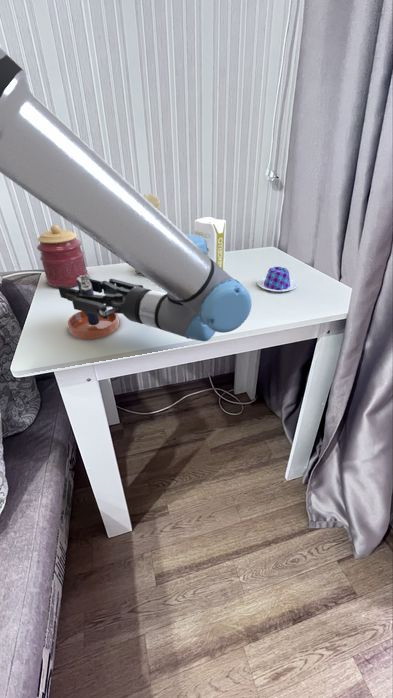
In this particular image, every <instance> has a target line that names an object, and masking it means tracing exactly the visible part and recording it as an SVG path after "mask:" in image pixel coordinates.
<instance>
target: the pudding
mask: <svg viewBox="0 0 393 698" xmlns="http://www.w3.org/2000/svg"><path fill="white" fill-rule="evenodd" d="M256 283H257V285H258V287H260V288H262V289H263V290H267V291H271V292H288V291H292V290H294V289H296V288H297V286H298V284H297V283H296V281H295V280H293V279H291V278H290V272H289V270H288V269H287V268H286V267H283V266H272V267H270V268H269V269H268V271H267V274H266V275H265V276H264V277H261V278H259V279H257V281H256Z"/></svg>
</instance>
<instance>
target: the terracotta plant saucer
mask: <svg viewBox="0 0 393 698" xmlns="http://www.w3.org/2000/svg"><path fill="white" fill-rule="evenodd" d="M98 317H99V323H98V324H97V325H93V326H92V325H90V324H89V323H88V318H86V315H85V314H84V311H80V310H79V311H78V312H76V313H75V314H73V315H71V316H70V317H69V318H68V321H67V326H68V330H69V332H70V335H72V336H73V337H75V338H77V339H79V340H80V339H82V340H96V339H99V338H100V339H101V338H105V337H106V336H109V335H111V334H112V333H114V332H115V331H116V330H117V329H118V328H119V326H120V320H119V319H120V318H119V314H117V313H114V312H113V313H110V314H108V318H107V319H103V318H102V317H100V316H98Z"/></svg>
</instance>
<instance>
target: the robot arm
mask: <svg viewBox="0 0 393 698" xmlns="http://www.w3.org/2000/svg"><path fill="white" fill-rule="evenodd" d="M0 173H1V174H2V175H3V176H4V177H6V178H8V179H9V180H10V181H11V182H13V183H14V184H16V185H17V186H19V187H20V188H21V189H22V190H24V191H25V192H27V193H29V194H30V195H31V196H33V197H34V198H35V199H36V200H38V201H39V202H41V203H42V204H44V205H45V206H47V207H48V208H49V209H51V210H52V211H53V212H55V213H56V214H58V215H59V216H60V217H62V218H63V219H64V220H66V221H67V222H69V223H70V224H71V225H73V226H74V227H76V228H77V229H79V230H80V231H81V232H82V233H84V234H85V235H87V236H88V237H90V238H91V239H93V240H94V241H95V242H97V243H98V244H99V245H101V246H102V247H103V248H105V249H106V250H107V251H109V252H110V253H112V254H113V255H115V256H116V257H117V258H119V259H120V260H122V261H123V262H124V263H126V264H127V265H128V266H130V267H131V268H132V269H134V271H136V270H137V271H138V272H137V271H136V272H137V273H140V274H141V275H142V276H144V277H145V278H147V279H148V280H149V281H151V282H152V283H153V284H154V285H156V286H158V287H159V288H160V289H162V290H164V291H165V292H164V291H163V292H162V291H158V290H154V289H149V288H145V287H144V285H143V284H134V283H130V282H127V281H123V280H119V279H116V278H109V279H108V280H102V281H101V280H97V279H93V278H89V277H88V278H87V279H88V280H89V281H90V282H91V284H92V288H93V292H95V293H97V294H94V295H93V294H83V293H81V291H79V289H75V288H73V287H64V286H58V288H57V289H58V292H59V295H60V298H62V299H64V300H67V301H70V302H72V306H73V309H74V310H77V311H79V312H80V311H84V312H87V313H91V314H95V315H98V316H100V317H102V318H103V319H107V318H108V314H110V313H113V312H114V313H117V315H119V314H122V315H123V316H124V317H125V318H126V319H127V320H128V321H131V322H133V323H137V324H141V325H145V326H148V327H152V328H155V329H159V330H161V331H164V332H168V333H171V334H174V335H177V336H180V337H183V338H185V339H187V340H188V339H189V340H194V341H200V342H208V341H209V340H211V339H212V338H213V337H214V335H215V334H216V333H221V334H222V333H223V334H224V333H226V334H227V333H230V332H233V331H235V330H237V329H238V328H240V327H241V326H242V325H243V324H244V323H245V321H246V320H247V319H248V317H249V316H250V313H251V312H252V311H251V310H252V305H253V304H252V297H251V294H250V292H249V291H248V290H247V288H245V287H244V286H243V284H242V283H241V282H240V281H239V280H237V279H234V277H232V276H231V275H230V274H229V273H228V272H227V271H225V269H224V270H223V269H222V268H221V267H220V266H218V265H217V264H216V263H215V262H214V261H213V260H211V259H210V258H209V256H208V255H207V254H208V251H207V244H206V240H205V239H204V238H203V237H201V236H198V235H195V234H188V233H187V234H185V233H184V232H183V231H182V230H181V229H179V227H177V226H176V225H175V224H174V223H173V222H172V221H171V220H170V219H169V218H168V217H166V216H165V215H164V214H163V213H162V212H161V211H160V210H158V209H157V208H155V207H154V206H153V205H152V204H151V203H150V202H149V201H148V200H147V199H146V198H145V197H144V195H143V194H141V193H140V191H138V189H136V188H135V187H134V186H133V185H132V184H131V183H130V182H128V181H127V180H126V179H125V177H123V176H122V175H121V174H120V173H119V172H118V171H117V170H116V169H114V168H113V167H112V165H110V164H109V163H108V162H107V161H106V160H105V159H104V158H102V157H101V155H99V154H98V153H97V152H96V151H95V150H94V149H93V148H91V147H90V146H89V145H88V144H87V143H86V142H85V141H84V140H83V139H82V138H81V137H79V136H78V134H76V133H75V132H74V131H73V130H72V129H71V128H70V127H69V126H67V125H66V124H65V123H64V122H63V121H62V120H61V119H60V118H59V117H57V115H55V113H54V112H52V111H51V110H50V109H49V108H48V107H47V106H46V105H45V104H44V103H42V102H41V101H40V100H39V99H38V98H37V96H35V95H34V93H33V91H32V87H31V84H30V80H29V76H28V73H27V72H26V71H25V70H24V69H23V68H22V67H21V66H20V65H19V64H17V62H15V61H14V60H13V59H12V57H10V56H9V55H8V54H7V53H6V51H4V49H2V48H1V47H0ZM98 293H99V294H98ZM101 293H103V294H101Z"/></svg>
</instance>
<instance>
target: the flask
mask: <svg viewBox="0 0 393 698" xmlns="http://www.w3.org/2000/svg"><path fill="white" fill-rule="evenodd" d="M87 276H88V277H89V274H88V275H83V276H81V275H80V276H79V277H78V278H77V284H78V285H77V289H78V290H79V291H81V293H83V294H93V295H95V294H94V291H93V288H92V284H91V282H90V281H89V280H88V279H87ZM84 314H85V315H86V318H88V323H89V324H90V325H92V326H93V325H97V324H98V323H99V317H98V315H95V314H91V313H87V312H84Z"/></svg>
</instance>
